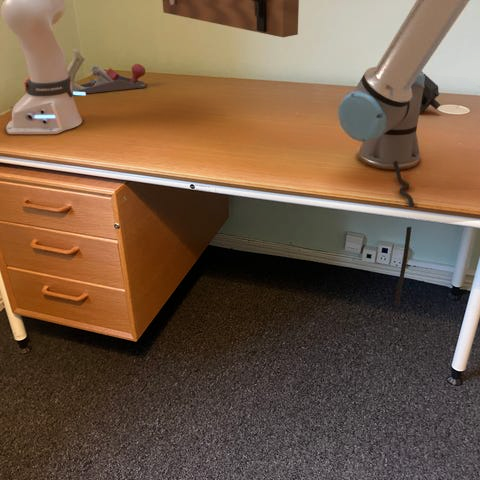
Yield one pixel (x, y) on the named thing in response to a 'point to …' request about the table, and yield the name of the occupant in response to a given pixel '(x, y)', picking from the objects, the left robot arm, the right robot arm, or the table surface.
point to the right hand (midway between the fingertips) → (270, 29)
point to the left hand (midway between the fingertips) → (182, 3)
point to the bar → (240, 14)
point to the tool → (429, 94)
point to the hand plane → (104, 77)
